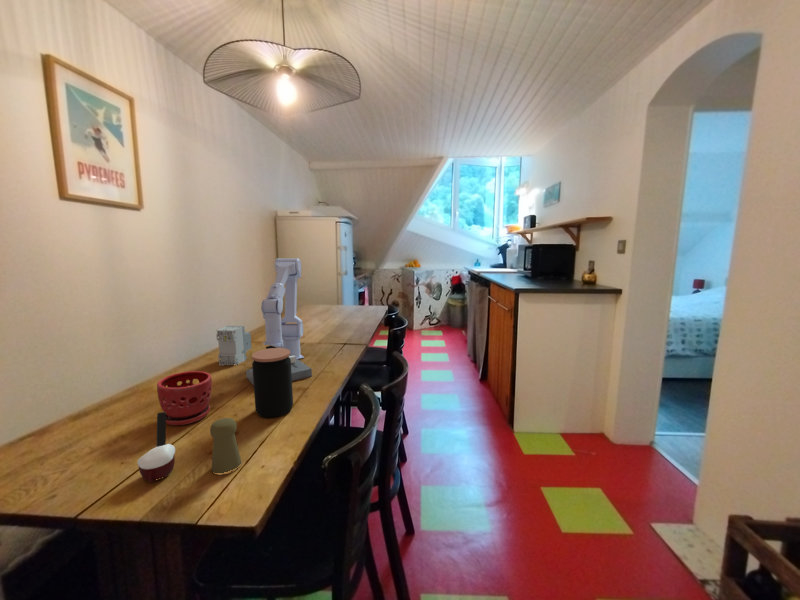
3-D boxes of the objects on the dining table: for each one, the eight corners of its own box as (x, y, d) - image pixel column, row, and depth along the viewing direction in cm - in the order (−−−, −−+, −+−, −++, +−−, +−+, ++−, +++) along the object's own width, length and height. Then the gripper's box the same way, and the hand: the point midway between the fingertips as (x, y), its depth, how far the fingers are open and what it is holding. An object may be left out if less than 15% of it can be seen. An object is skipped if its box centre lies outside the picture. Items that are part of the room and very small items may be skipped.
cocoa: (156, 491, 68) (149, 438, 66) (128, 488, 69) (120, 436, 66) (189, 460, 78) (184, 413, 75) (164, 458, 78) (158, 411, 76)
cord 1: (250, 370, 135) (250, 366, 135) (254, 369, 136) (254, 365, 136) (255, 375, 129) (254, 371, 129) (259, 374, 130) (259, 370, 130)
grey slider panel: (246, 377, 127) (246, 369, 127) (298, 366, 139) (297, 358, 139) (257, 389, 116) (256, 381, 116) (311, 376, 128) (311, 368, 128)
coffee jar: (300, 405, 105) (297, 349, 102) (277, 422, 95) (273, 360, 92) (272, 400, 108) (268, 346, 105) (247, 415, 98) (242, 356, 95)
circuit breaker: (254, 355, 154) (251, 323, 151) (235, 365, 140) (233, 330, 137) (238, 354, 154) (236, 322, 152) (219, 365, 140) (215, 330, 138)
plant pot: (157, 434, 88) (152, 391, 87) (165, 412, 100) (160, 374, 98) (214, 422, 94) (210, 382, 93) (215, 403, 106) (211, 367, 104)
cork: (218, 458, 78) (214, 414, 76) (245, 457, 79) (242, 413, 77) (206, 476, 72) (201, 428, 71) (235, 474, 73) (231, 427, 71)
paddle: (286, 362, 133) (286, 357, 133) (294, 361, 135) (294, 355, 135) (287, 363, 132) (287, 358, 132) (295, 362, 134) (295, 356, 134)
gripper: (257, 327, 131) (259, 361, 133) (268, 335, 120) (270, 371, 122) (275, 325, 135) (277, 357, 137) (288, 332, 124) (290, 367, 126)
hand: (275, 364), depth 130 cm, fingers closed
